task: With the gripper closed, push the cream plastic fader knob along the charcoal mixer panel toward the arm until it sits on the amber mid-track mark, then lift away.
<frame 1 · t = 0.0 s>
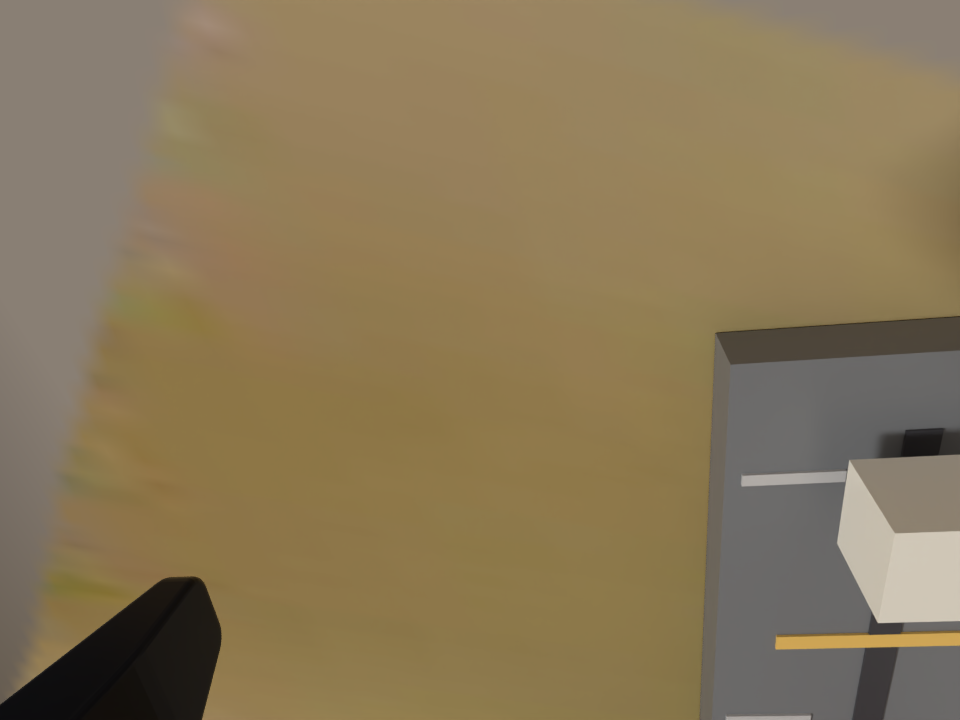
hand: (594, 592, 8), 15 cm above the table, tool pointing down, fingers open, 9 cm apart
mixer panel: (867, 552, 26), on the table
fader knob: (953, 522, 20), point 4 cm above the table, slide at 0.0 cm
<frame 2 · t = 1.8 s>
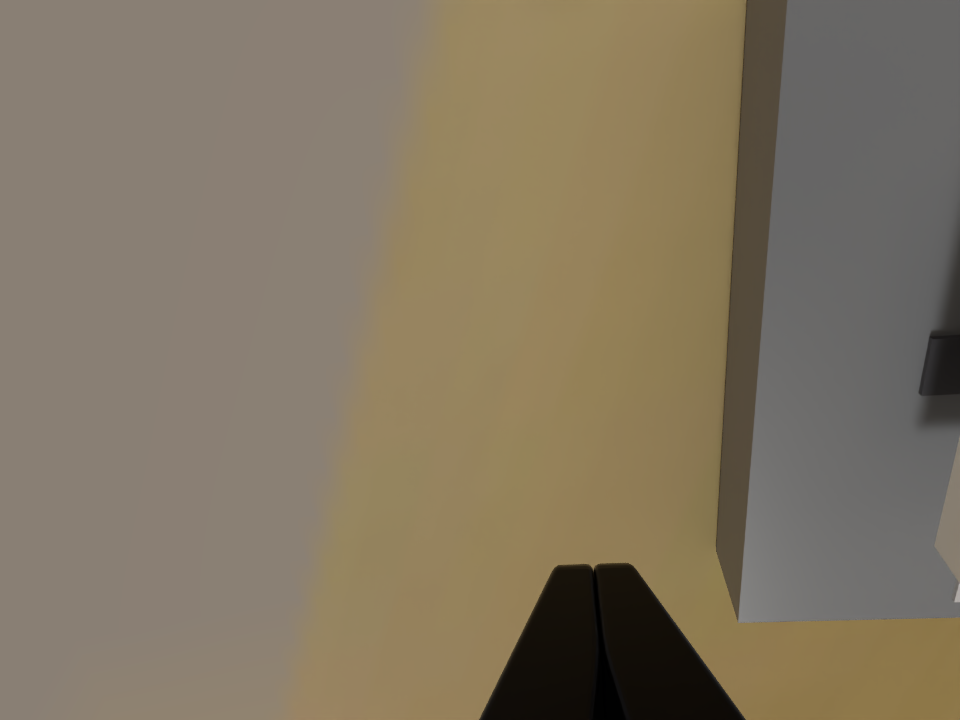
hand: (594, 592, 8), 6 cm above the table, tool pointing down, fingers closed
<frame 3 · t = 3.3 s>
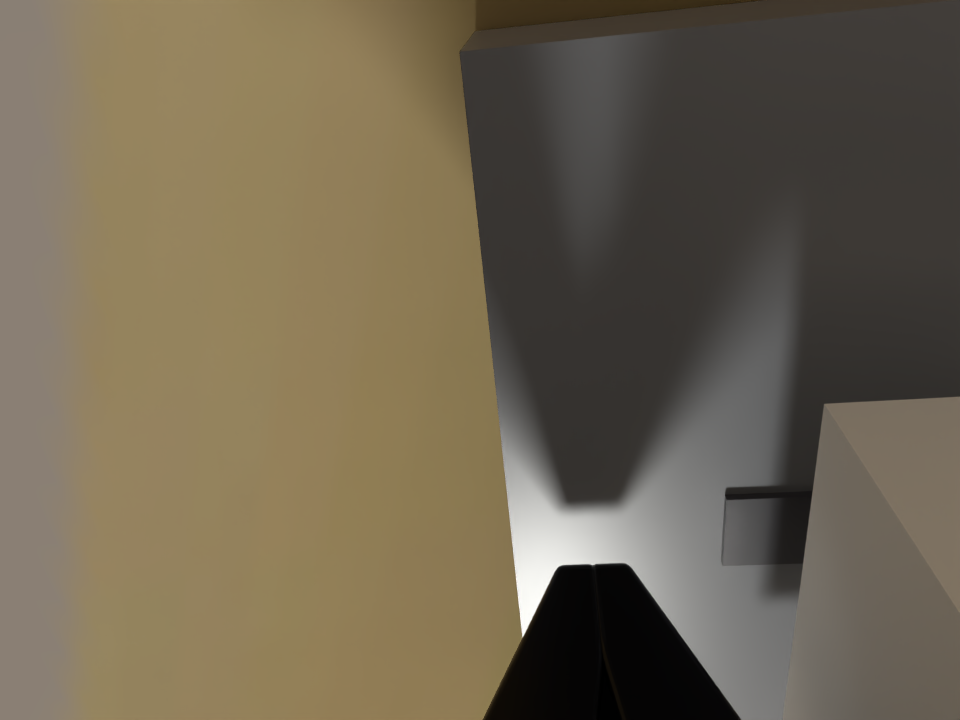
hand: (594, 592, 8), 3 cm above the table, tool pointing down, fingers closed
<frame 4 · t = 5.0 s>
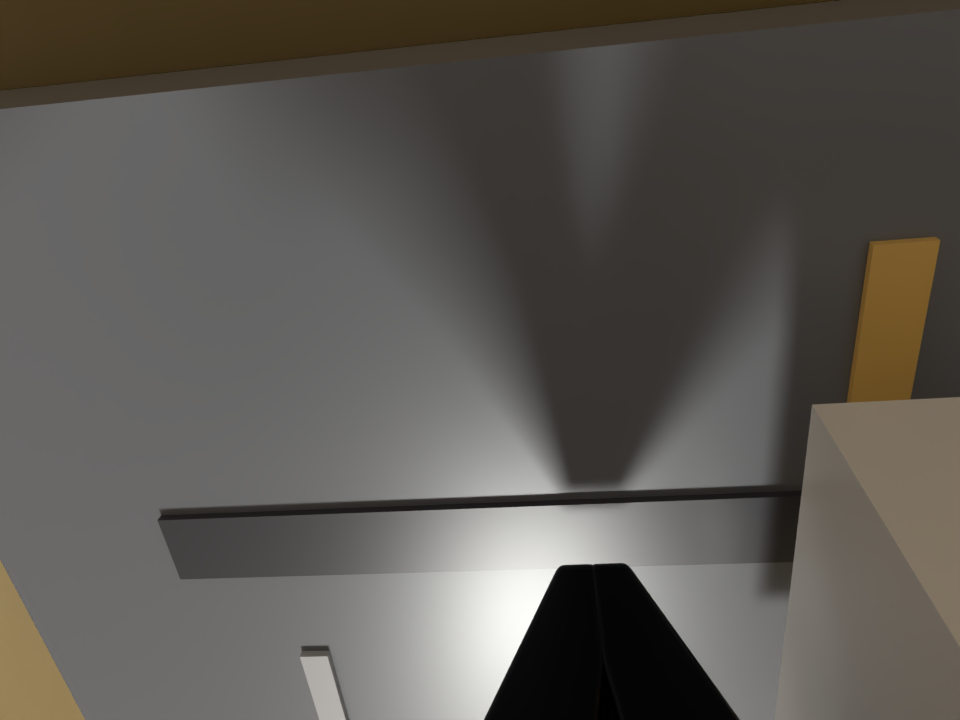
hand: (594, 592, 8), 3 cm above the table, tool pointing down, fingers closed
mixer panel: (658, 435, 11), on the table
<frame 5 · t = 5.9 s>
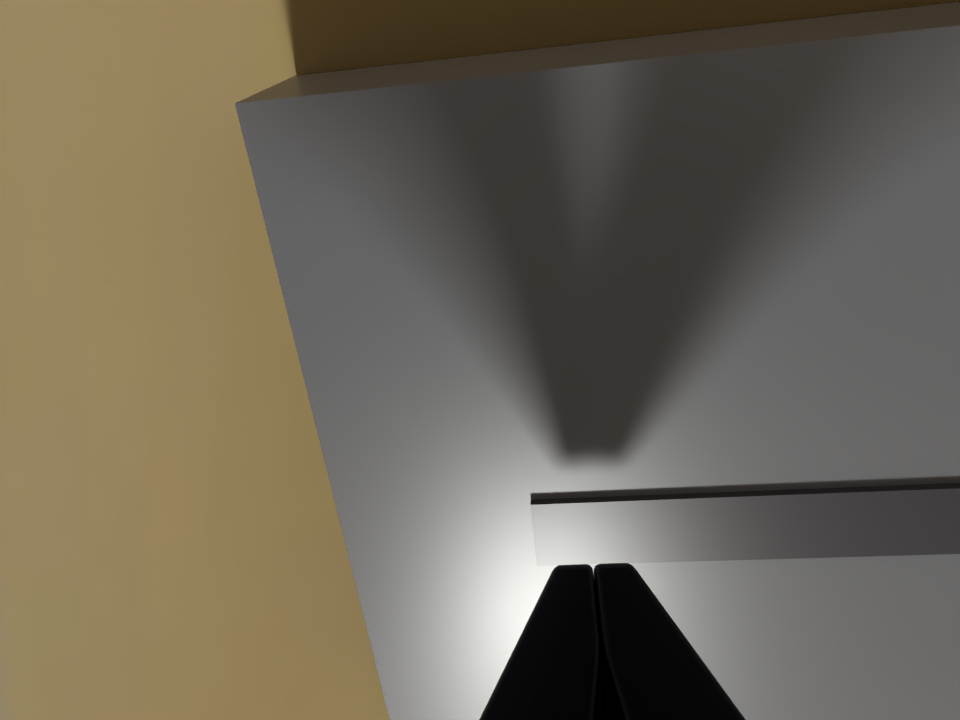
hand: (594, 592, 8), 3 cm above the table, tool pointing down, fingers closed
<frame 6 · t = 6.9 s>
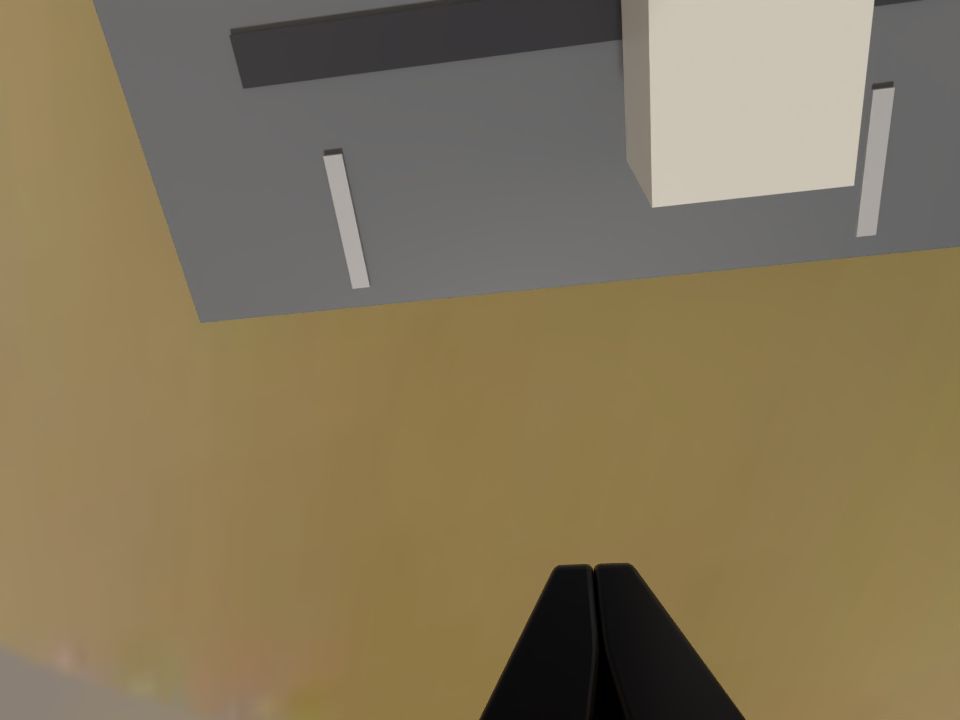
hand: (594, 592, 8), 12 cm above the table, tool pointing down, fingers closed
mixer panel: (560, 10, 16), on the table
fader knob: (724, 8, 12), point 4 cm above the table, slide at 7.4 cm
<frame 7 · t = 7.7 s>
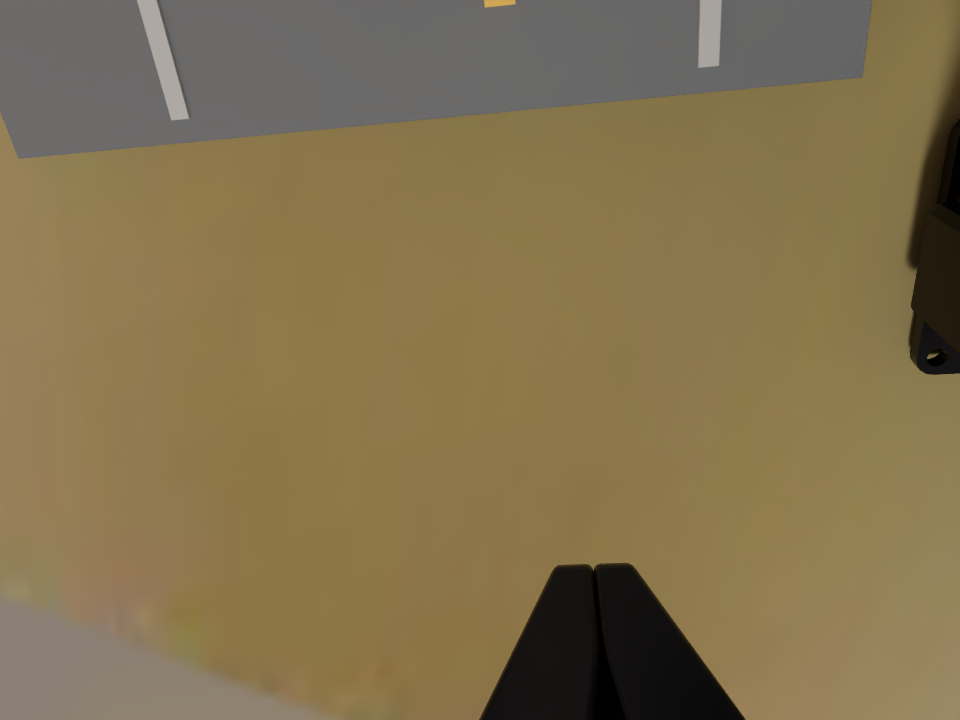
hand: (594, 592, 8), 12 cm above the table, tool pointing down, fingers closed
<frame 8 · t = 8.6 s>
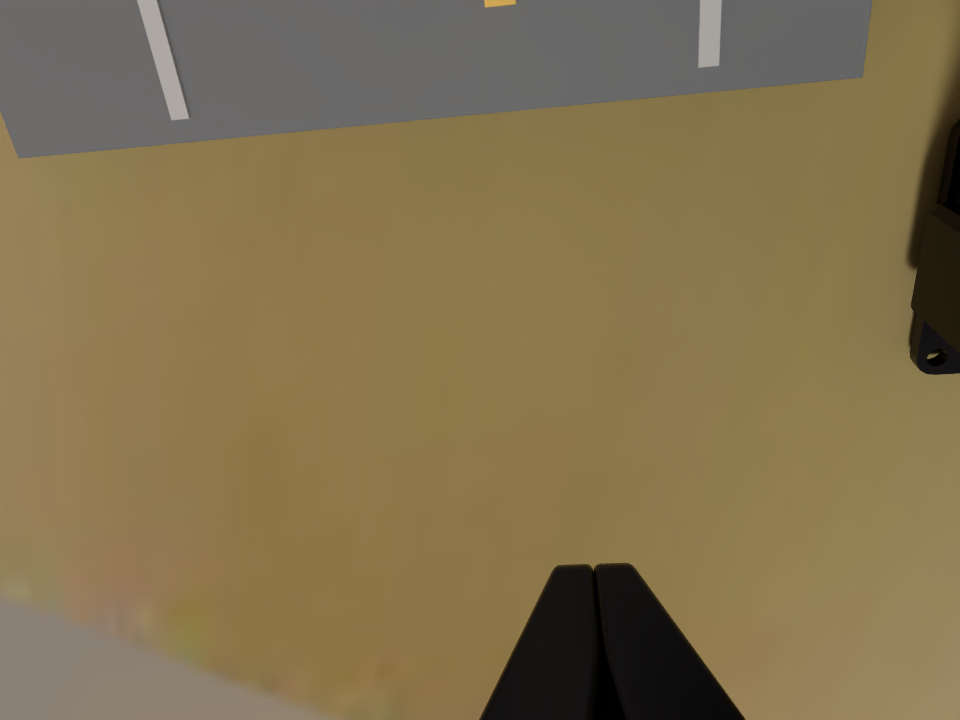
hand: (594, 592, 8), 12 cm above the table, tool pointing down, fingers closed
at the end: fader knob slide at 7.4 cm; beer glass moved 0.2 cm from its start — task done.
